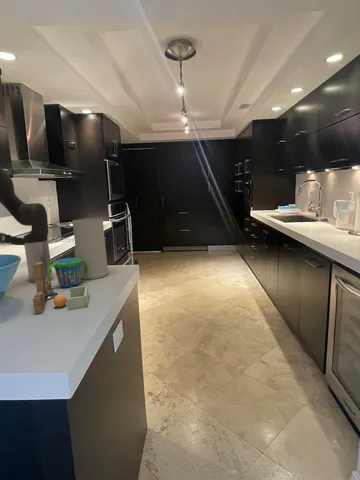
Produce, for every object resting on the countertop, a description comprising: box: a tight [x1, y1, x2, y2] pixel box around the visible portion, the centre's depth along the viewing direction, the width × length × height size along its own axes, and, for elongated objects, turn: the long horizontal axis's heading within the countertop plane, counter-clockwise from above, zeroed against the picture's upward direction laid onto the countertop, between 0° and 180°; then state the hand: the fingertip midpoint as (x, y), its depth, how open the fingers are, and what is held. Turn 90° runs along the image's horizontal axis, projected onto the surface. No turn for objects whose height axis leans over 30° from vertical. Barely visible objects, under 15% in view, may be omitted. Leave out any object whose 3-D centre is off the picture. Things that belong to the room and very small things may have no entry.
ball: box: [53, 294, 67, 308], centre depth 96 cm, size 4×4×4 cm
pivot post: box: [44, 287, 59, 301], centre depth 106 cm, size 7×7×3 cm
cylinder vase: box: [72, 217, 109, 280], centre depth 129 cm, size 12×12×25 cm
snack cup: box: [47, 257, 88, 288], centre depth 118 cm, size 16×10×10 cm
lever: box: [32, 262, 53, 315], centre depth 98 cm, size 18×4×14 cm, turn 15°
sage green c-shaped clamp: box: [66, 285, 90, 311], centre depth 99 cm, size 12×6×4 cm, turn 15°
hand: (22, 242), depth 96 cm, fingers open, 8 cm apart
